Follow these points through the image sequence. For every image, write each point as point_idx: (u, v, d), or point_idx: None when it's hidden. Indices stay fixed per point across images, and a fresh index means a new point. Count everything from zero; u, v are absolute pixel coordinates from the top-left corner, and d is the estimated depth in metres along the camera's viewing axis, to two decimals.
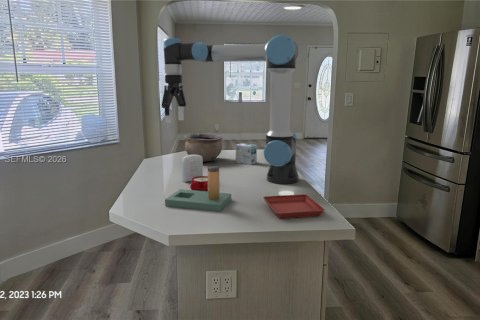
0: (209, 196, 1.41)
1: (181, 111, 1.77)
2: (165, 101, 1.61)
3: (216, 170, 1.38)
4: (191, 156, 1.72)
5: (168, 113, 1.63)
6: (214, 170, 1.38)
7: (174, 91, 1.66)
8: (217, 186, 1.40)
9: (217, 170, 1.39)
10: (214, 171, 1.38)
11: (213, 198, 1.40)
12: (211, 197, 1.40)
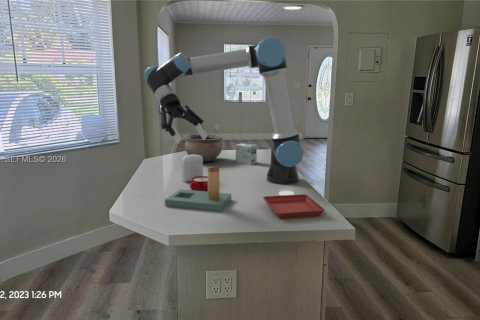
0: (209, 196, 1.41)
1: (200, 129, 1.51)
2: (162, 122, 1.41)
3: (216, 170, 1.38)
4: (191, 156, 1.72)
5: (173, 131, 1.40)
6: (214, 170, 1.38)
7: (172, 110, 1.46)
8: (217, 186, 1.40)
9: (217, 170, 1.39)
10: (214, 171, 1.38)
11: (213, 198, 1.40)
12: (211, 197, 1.40)
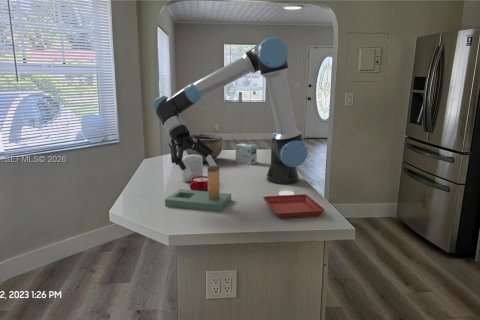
0: (209, 196, 1.41)
1: (210, 160, 1.48)
2: (173, 156, 1.38)
3: (216, 170, 1.38)
4: (191, 156, 1.72)
5: (183, 166, 1.38)
6: (214, 170, 1.38)
7: (182, 142, 1.43)
8: (217, 186, 1.40)
9: (217, 170, 1.39)
10: (214, 171, 1.38)
11: (213, 198, 1.40)
12: (211, 197, 1.40)
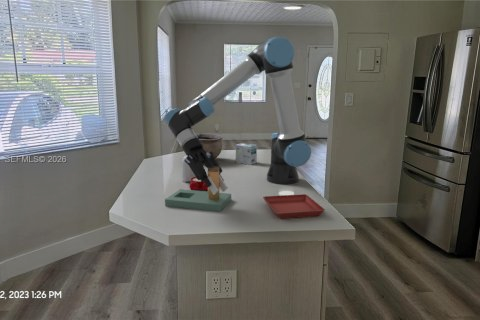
0: (209, 196, 1.41)
1: (219, 180, 1.42)
2: (197, 173, 1.37)
3: (216, 170, 1.38)
4: None
5: (209, 183, 1.37)
6: (214, 170, 1.38)
7: (198, 157, 1.41)
8: (217, 186, 1.40)
9: (217, 170, 1.39)
10: (214, 171, 1.38)
11: (213, 198, 1.40)
12: (211, 197, 1.40)
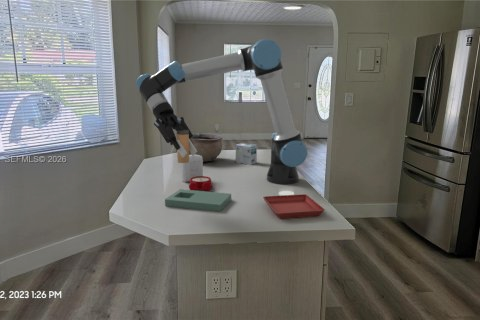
0: (178, 159, 1.41)
1: (189, 144, 1.42)
2: (166, 136, 1.38)
3: (185, 133, 1.38)
4: (191, 156, 1.72)
5: (178, 145, 1.38)
6: (183, 133, 1.38)
7: (168, 121, 1.41)
8: (186, 149, 1.40)
9: (186, 133, 1.39)
10: (183, 134, 1.38)
11: (182, 161, 1.40)
12: (180, 160, 1.40)
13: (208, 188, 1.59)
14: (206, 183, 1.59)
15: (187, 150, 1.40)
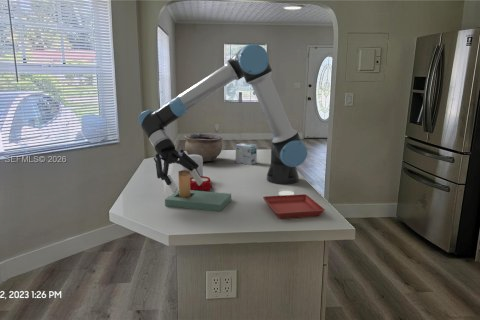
0: None
1: (195, 174, 1.49)
2: (158, 171, 1.39)
3: (186, 174, 1.42)
4: (191, 156, 1.72)
5: (169, 181, 1.38)
6: (184, 174, 1.42)
7: (167, 157, 1.44)
8: (187, 189, 1.43)
9: (187, 174, 1.42)
10: (184, 175, 1.42)
11: None
12: None
13: (207, 188, 1.59)
14: (205, 183, 1.59)
15: (188, 190, 1.44)
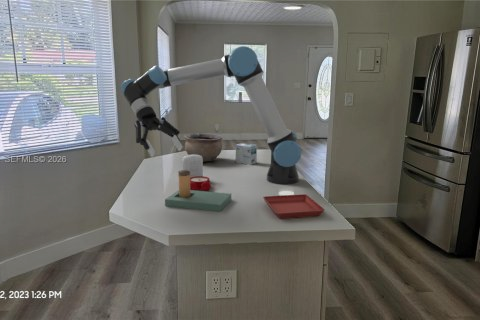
0: None
1: (175, 140, 1.55)
2: (137, 136, 1.45)
3: (186, 174, 1.42)
4: (191, 156, 1.72)
5: (147, 145, 1.45)
6: (184, 174, 1.42)
7: (147, 123, 1.50)
8: (187, 189, 1.43)
9: (187, 174, 1.42)
10: (184, 175, 1.42)
11: None
12: None
13: (207, 188, 1.59)
14: (205, 183, 1.59)
15: (188, 190, 1.44)
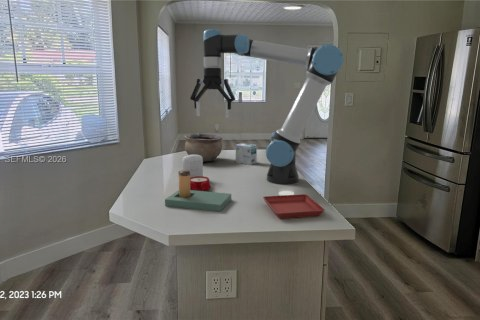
0: None
1: None
2: None
3: (186, 174, 1.42)
4: (191, 156, 1.72)
5: (195, 106, 1.66)
6: (184, 174, 1.42)
7: (204, 85, 1.62)
8: (187, 189, 1.43)
9: (187, 174, 1.42)
10: (184, 175, 1.42)
11: None
12: None
13: (207, 188, 1.59)
14: (205, 183, 1.58)
15: (188, 190, 1.44)
